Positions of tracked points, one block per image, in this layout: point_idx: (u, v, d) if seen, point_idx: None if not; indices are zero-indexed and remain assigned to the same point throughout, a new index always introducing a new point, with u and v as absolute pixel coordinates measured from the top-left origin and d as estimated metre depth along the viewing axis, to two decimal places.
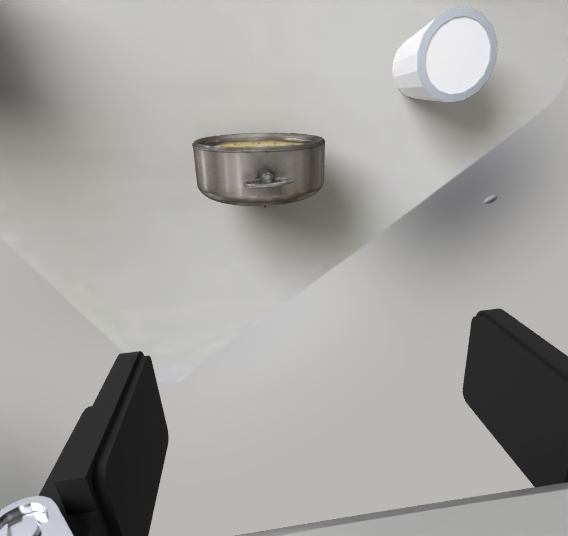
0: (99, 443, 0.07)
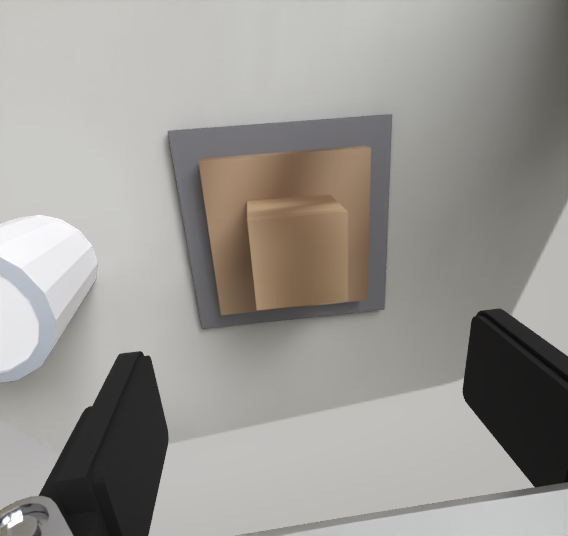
0: (99, 443, 0.07)
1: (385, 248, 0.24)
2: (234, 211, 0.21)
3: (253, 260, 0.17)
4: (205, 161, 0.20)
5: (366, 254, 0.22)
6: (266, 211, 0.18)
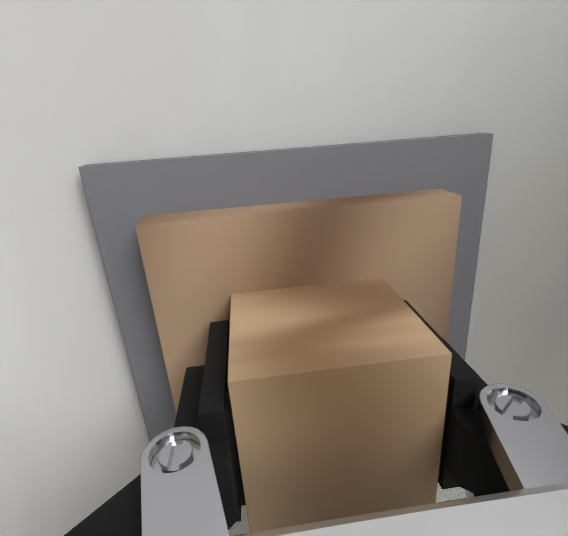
0: (224, 387, 0.08)
1: (463, 351, 0.14)
2: (208, 311, 0.11)
3: (243, 455, 0.08)
4: (149, 226, 0.10)
5: None
6: (269, 339, 0.09)
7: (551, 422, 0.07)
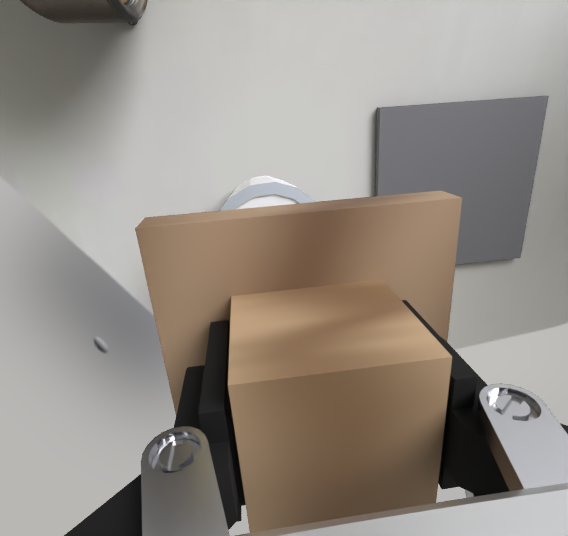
0: (224, 387, 0.08)
1: (528, 205, 0.29)
2: (208, 313, 0.11)
3: (243, 458, 0.08)
4: (149, 228, 0.10)
5: None
6: (270, 342, 0.09)
7: (551, 422, 0.07)
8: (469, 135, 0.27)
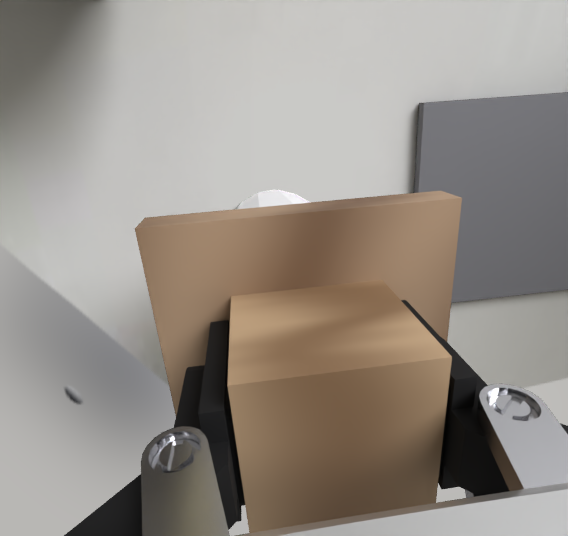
0: (224, 387, 0.08)
1: None
2: (208, 314, 0.11)
3: (243, 458, 0.08)
4: (149, 228, 0.10)
5: None
6: (269, 342, 0.09)
7: (550, 422, 0.07)
8: (535, 137, 0.21)
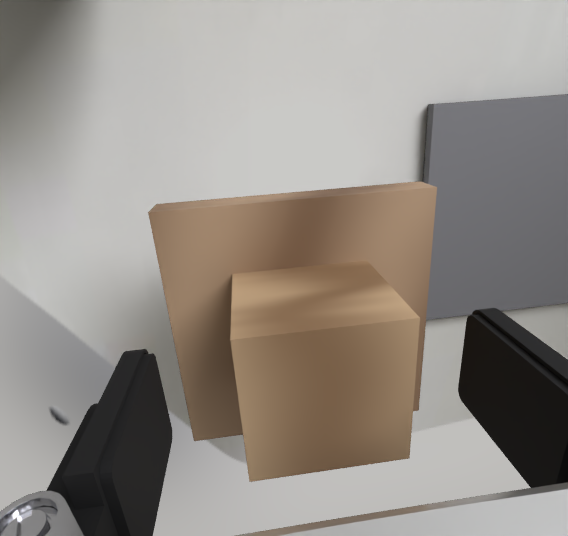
0: (106, 439, 0.07)
1: None
2: (212, 289, 0.13)
3: (243, 405, 0.09)
4: (160, 212, 0.11)
5: (420, 347, 0.14)
6: (266, 308, 0.10)
7: None
8: (551, 141, 0.20)
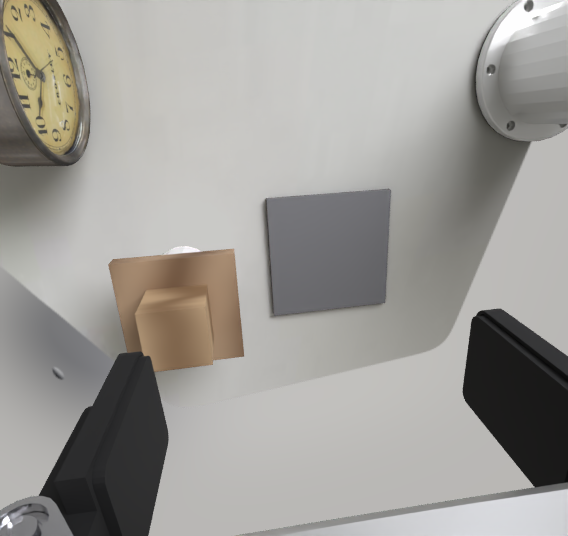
0: (99, 443, 0.07)
1: (386, 265, 0.39)
2: (137, 297, 0.28)
3: (141, 339, 0.25)
4: (113, 264, 0.27)
5: (239, 324, 0.31)
6: (152, 304, 0.26)
7: None
8: (335, 217, 0.37)
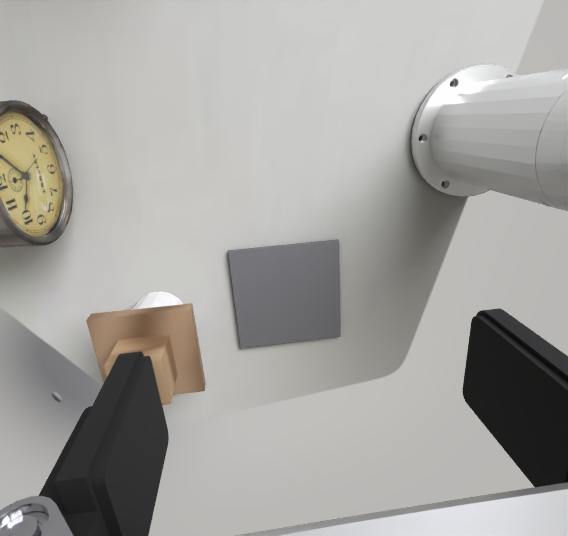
0: (99, 443, 0.07)
1: (339, 304, 0.44)
2: (111, 345, 0.34)
3: None
4: (90, 320, 0.33)
5: (198, 365, 0.36)
6: None
7: None
8: (290, 265, 0.42)
